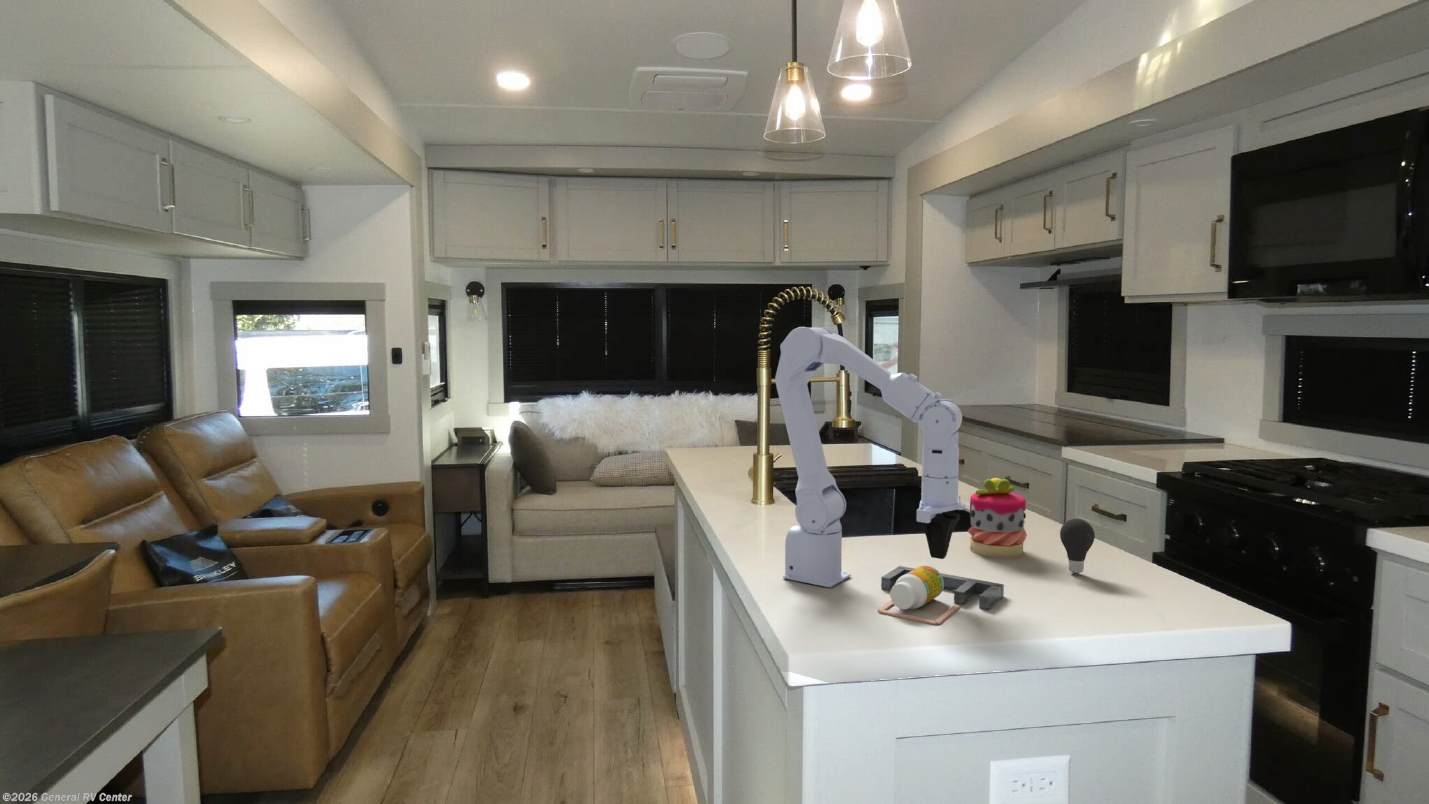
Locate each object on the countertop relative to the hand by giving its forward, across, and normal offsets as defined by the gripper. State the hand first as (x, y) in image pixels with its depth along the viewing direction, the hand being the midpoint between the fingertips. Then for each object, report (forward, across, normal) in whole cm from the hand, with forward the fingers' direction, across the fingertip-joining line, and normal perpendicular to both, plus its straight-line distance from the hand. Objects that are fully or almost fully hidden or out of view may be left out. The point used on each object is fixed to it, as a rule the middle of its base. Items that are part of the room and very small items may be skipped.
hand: (938, 557), depth 132 cm
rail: (+6, +1, 0) cm, 6 cm away
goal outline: (+6, -8, 0) cm, 10 cm away
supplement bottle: (+4, -2, +1) cm, 4 cm away
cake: (+7, +32, 0) cm, 33 cm away
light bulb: (+7, +25, -16) cm, 30 cm away
